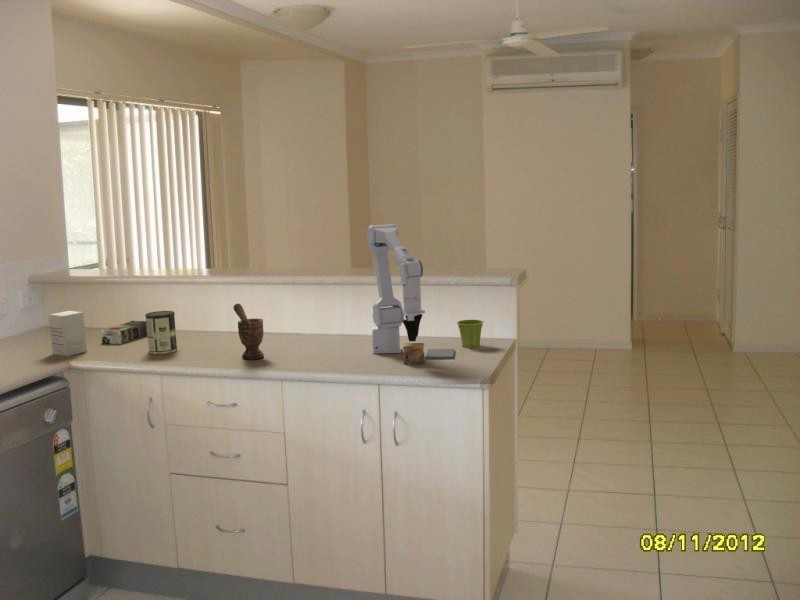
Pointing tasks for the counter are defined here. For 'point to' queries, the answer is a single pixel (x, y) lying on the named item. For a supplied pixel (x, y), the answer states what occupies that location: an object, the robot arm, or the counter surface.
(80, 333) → the supplement box
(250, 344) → the mortar and pestle
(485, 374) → the counter surface
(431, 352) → the slate mat
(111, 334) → the juice carton
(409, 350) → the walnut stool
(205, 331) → the counter surface
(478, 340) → the plant pot
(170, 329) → the coffee can
